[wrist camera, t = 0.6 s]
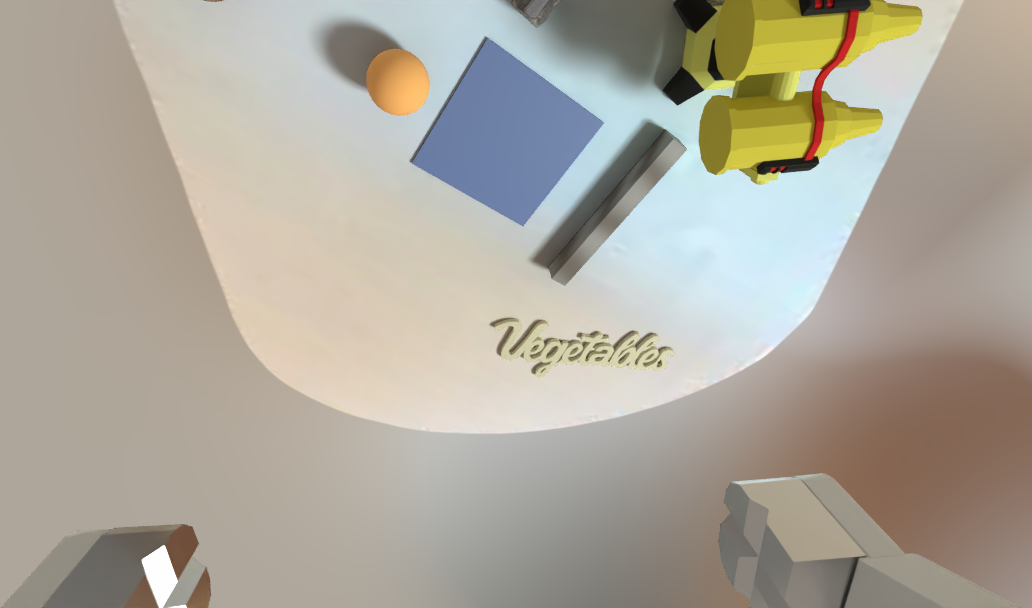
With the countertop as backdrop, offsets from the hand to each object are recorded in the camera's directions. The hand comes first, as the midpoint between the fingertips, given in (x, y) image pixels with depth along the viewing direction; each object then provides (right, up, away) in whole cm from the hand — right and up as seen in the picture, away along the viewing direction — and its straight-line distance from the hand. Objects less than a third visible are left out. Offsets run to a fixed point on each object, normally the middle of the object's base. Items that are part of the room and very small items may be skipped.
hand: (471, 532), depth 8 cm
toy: (+22, +28, +42) cm, 55 cm away
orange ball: (-10, +23, +39) cm, 46 cm away
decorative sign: (+10, -3, +66) cm, 67 cm away
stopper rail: (+11, +14, +52) cm, 55 cm away
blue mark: (0, +20, +46) cm, 50 cm away
